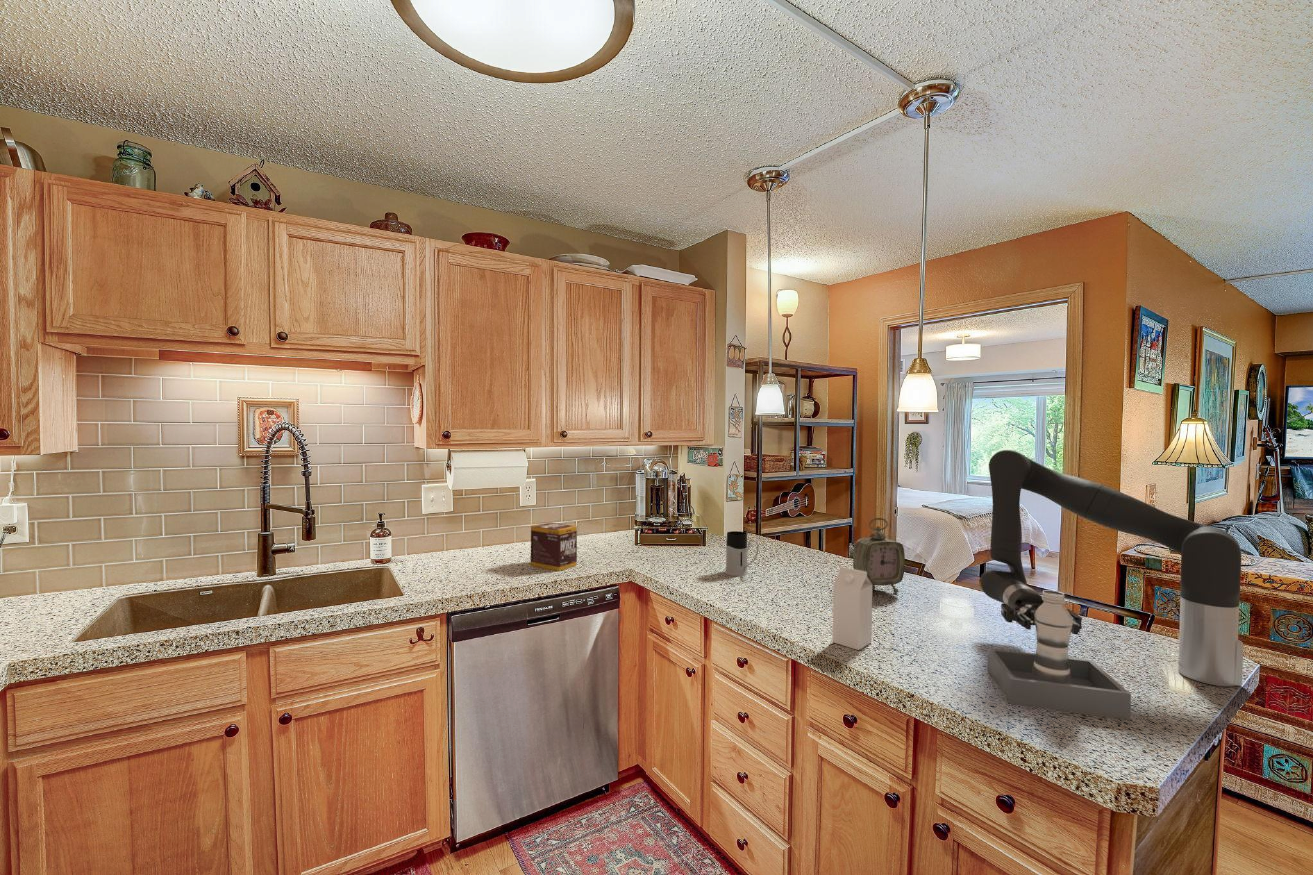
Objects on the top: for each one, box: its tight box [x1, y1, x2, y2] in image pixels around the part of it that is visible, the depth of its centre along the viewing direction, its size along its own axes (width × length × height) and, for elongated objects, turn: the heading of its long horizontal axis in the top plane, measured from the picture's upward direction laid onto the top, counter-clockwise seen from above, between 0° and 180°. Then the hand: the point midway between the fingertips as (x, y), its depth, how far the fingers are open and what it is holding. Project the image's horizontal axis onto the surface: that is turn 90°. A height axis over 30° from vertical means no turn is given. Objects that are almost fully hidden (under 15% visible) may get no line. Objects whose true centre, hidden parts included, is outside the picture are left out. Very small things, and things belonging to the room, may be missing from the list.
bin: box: [987, 648, 1132, 721], centre depth 116 cm, size 20×16×5 cm
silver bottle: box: [1032, 589, 1073, 684], centre depth 116 cm, size 6×7×20 cm
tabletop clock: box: [852, 517, 906, 594], centre depth 185 cm, size 14×9×25 cm, turn 102°
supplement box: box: [529, 522, 578, 572], centre depth 216 cm, size 10×15×16 cm
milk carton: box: [832, 566, 873, 651], centre depth 141 cm, size 7×7×19 cm
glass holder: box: [724, 530, 760, 577], centre depth 205 cm, size 9×14×15 cm, turn 43°
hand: (1052, 627), depth 116 cm, fingers open, 8 cm apart
